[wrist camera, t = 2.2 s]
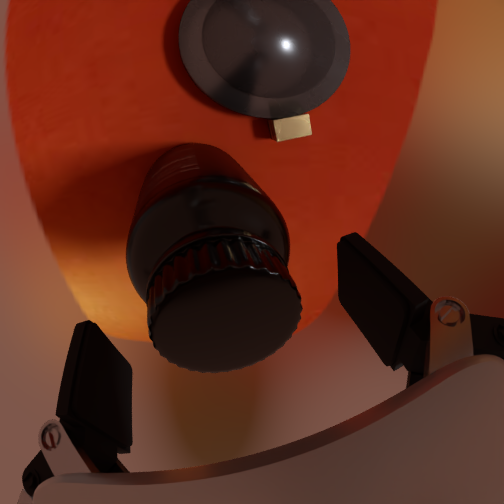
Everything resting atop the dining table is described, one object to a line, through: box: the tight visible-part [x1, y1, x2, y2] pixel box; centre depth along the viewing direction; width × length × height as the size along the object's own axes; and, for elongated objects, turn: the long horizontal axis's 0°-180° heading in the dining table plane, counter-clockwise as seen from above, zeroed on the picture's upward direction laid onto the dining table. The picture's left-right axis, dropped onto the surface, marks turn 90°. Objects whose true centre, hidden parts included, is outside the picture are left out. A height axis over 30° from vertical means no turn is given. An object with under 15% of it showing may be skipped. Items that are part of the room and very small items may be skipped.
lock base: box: [179, 0, 350, 142], centre depth 12 cm, size 14×11×1 cm
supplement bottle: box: [126, 143, 303, 373], centre depth 13 cm, size 7×7×12 cm
